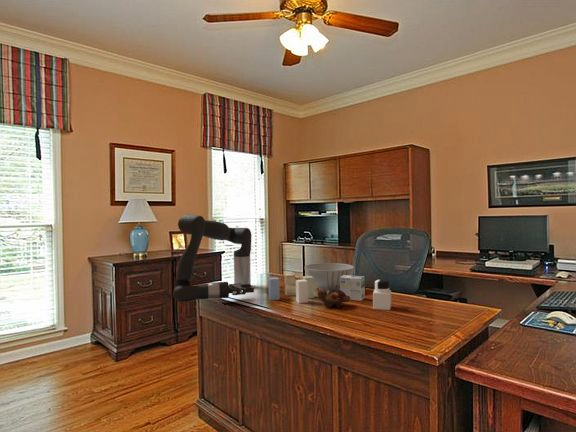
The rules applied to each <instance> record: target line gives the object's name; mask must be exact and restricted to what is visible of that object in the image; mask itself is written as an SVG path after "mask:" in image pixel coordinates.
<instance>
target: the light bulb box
mask: <svg viewBox="0 0 576 432" xmlns="http://www.w3.org/2000/svg"><path fill="white" fill-rule="evenodd" d="M365 289H366V287H365V276H362V275H352V276H349V275H343V276H341V277H340V290H341V291H343V292H344V293H345V294H346V295H347V296H350V301H357V302H358V301H359V302H361V301H363V300H364V299H365V298H366V292H365Z"/></svg>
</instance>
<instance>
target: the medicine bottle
mask: <svg viewBox="0 0 576 432" xmlns="http://www.w3.org/2000/svg"><path fill="white" fill-rule="evenodd" d="M372 308H373V309H374V310H380V311H381V310H382V311H383V310H384V311H390V310H391V308H392V290H391V289H390V281H389V280H386V279H377V280H375V281H374V290H373V292H372Z"/></svg>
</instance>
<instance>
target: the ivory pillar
mask: <svg viewBox="0 0 576 432" xmlns="http://www.w3.org/2000/svg"><path fill="white" fill-rule="evenodd" d="M295 284H296V295H295V302H297V303H298V304H306V303H309V298H308V281H307V280H305V279H304V280H303V279H295Z"/></svg>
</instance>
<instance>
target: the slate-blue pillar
mask: <svg viewBox="0 0 576 432" xmlns="http://www.w3.org/2000/svg"><path fill="white" fill-rule="evenodd" d="M268 299H269V300H270V301H277V300H280V278H279V277H276V276H275V277H268Z"/></svg>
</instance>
